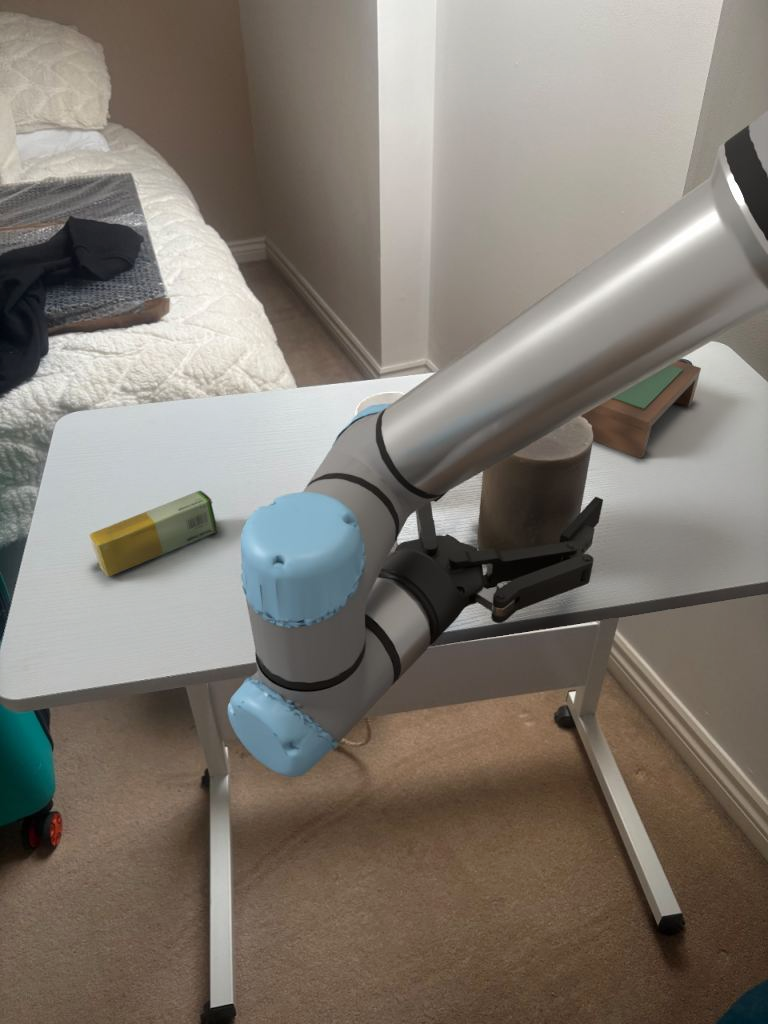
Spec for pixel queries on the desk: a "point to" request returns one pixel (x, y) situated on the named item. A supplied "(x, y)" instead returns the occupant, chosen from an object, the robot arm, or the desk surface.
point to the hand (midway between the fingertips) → (531, 482)
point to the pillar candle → (535, 490)
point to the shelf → (642, 408)
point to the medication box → (153, 533)
